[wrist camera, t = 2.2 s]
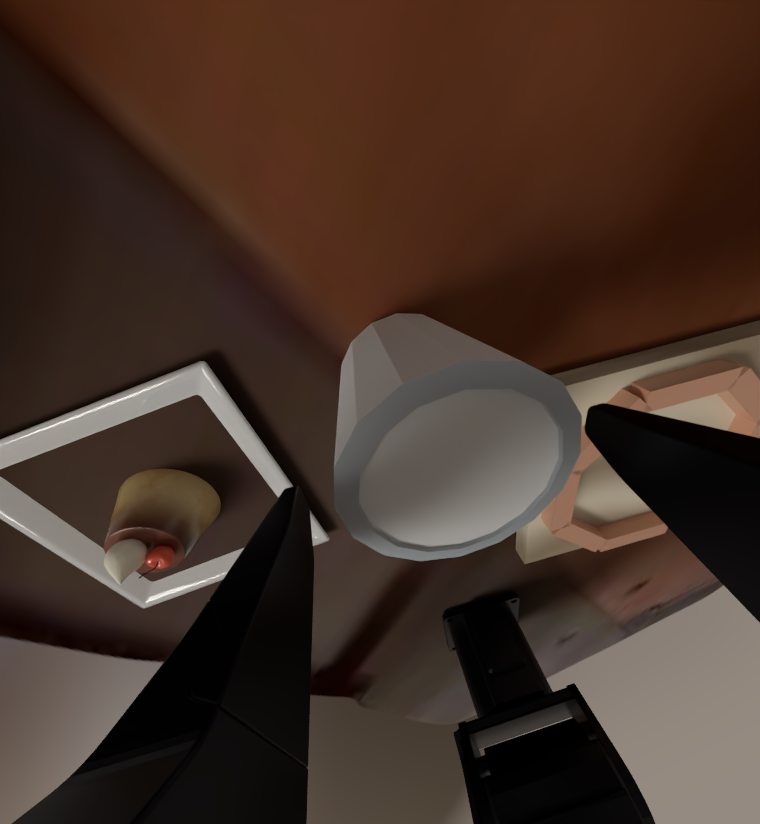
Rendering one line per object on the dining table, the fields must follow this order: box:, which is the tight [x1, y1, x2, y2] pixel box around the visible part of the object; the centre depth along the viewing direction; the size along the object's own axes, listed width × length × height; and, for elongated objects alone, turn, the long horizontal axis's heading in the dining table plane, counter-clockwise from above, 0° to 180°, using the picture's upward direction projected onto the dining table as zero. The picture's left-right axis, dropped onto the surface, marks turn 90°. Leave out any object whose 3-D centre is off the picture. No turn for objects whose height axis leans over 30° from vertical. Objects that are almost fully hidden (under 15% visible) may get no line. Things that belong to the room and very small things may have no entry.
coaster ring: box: [541, 359, 760, 552], centre depth 18 cm, size 12×12×1 cm
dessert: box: [0, 361, 330, 609], centre depth 14 cm, size 12×12×5 cm
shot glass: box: [334, 313, 582, 561], centre depth 11 cm, size 7×7×7 cm
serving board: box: [516, 320, 760, 564], centre depth 19 cm, size 14×14×1 cm
